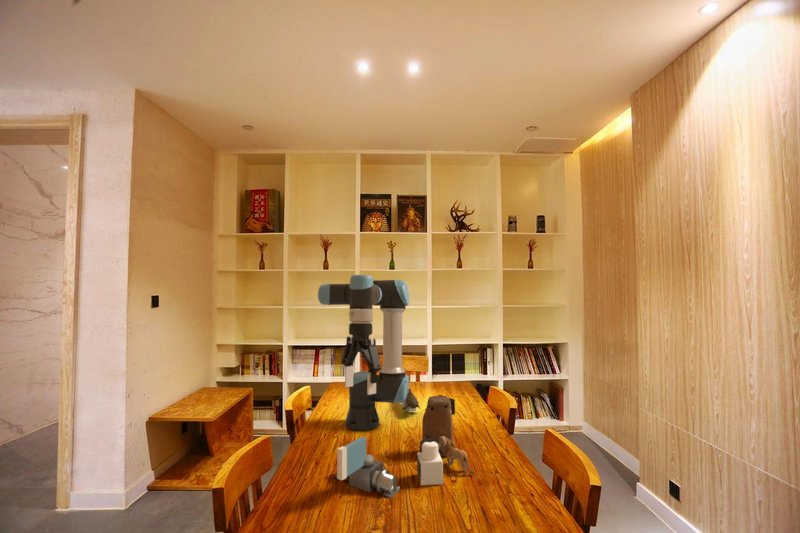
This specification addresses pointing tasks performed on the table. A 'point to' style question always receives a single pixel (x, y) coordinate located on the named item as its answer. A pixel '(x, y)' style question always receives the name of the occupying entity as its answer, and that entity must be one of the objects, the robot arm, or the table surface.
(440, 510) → the table surface
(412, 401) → the wood carving
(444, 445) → the lion figurine
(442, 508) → the table surface
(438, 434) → the brown rough block
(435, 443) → the medicine bottle
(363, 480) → the valve
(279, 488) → the table surface
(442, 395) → the digital camera
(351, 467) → the lever
